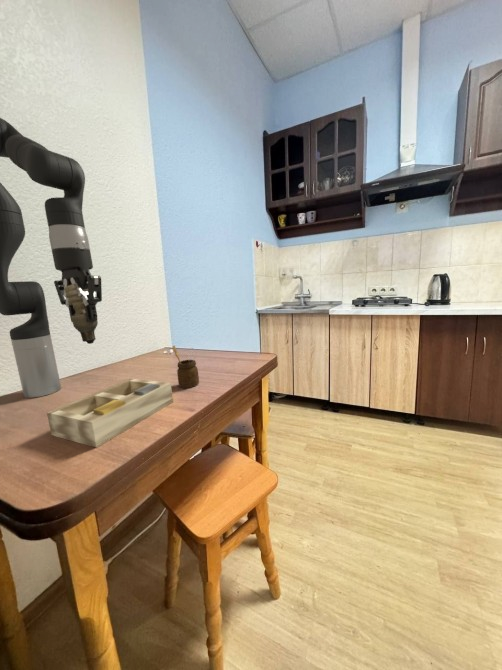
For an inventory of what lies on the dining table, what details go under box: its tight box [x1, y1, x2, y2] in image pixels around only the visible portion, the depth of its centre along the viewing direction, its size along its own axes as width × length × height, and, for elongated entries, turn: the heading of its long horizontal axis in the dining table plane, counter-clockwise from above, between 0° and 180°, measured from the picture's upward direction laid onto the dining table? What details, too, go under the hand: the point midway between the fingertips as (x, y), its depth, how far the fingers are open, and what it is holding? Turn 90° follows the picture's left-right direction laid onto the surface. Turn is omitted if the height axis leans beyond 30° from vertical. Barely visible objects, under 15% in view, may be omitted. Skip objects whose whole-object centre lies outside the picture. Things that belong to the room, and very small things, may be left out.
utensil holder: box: [172, 345, 200, 389], centre depth 81 cm, size 6×6×12 cm
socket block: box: [46, 378, 174, 448], centre depth 63 cm, size 14×21×6 cm, turn 155°
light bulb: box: [64, 284, 99, 345], centre depth 66 cm, size 6×6×15 cm
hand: (84, 321), depth 66 cm, fingers closed on light bulb, 5 cm apart
